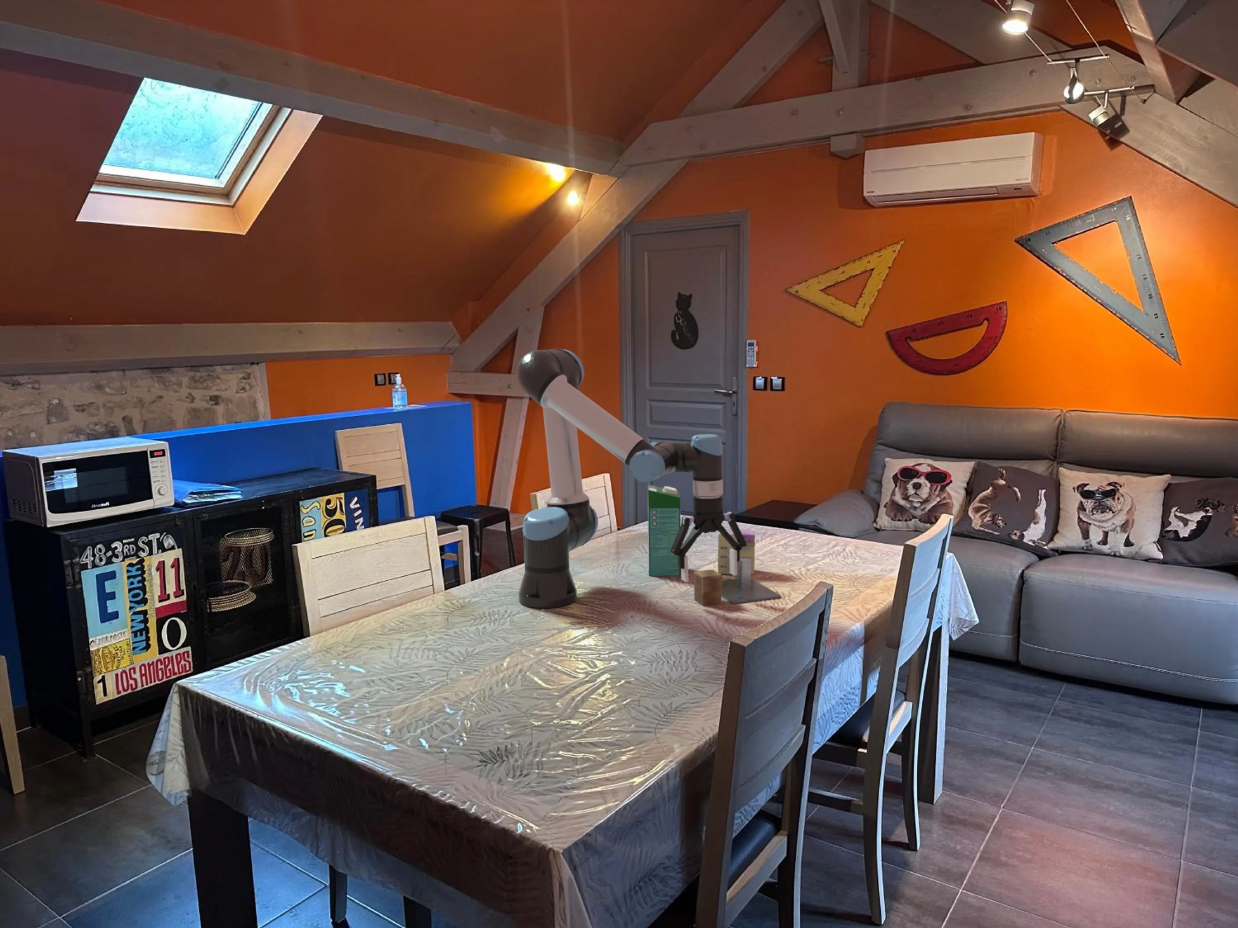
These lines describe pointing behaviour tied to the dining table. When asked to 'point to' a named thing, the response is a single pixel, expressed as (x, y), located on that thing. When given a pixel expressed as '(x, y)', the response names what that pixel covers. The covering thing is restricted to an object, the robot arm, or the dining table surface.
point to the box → (725, 548)
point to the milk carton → (663, 530)
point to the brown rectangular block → (707, 587)
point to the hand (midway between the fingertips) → (709, 577)
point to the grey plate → (745, 586)
